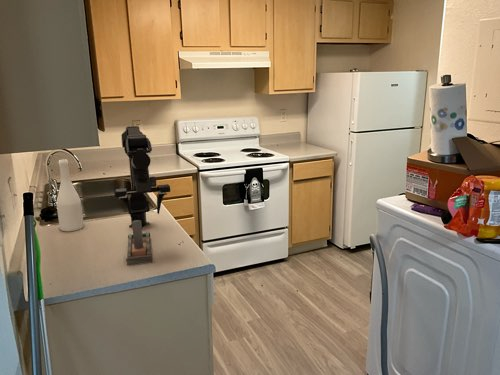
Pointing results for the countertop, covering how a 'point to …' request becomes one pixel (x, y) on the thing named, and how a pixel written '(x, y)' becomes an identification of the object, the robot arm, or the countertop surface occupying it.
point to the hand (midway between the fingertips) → (144, 215)
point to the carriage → (138, 239)
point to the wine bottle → (68, 202)
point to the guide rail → (139, 259)
